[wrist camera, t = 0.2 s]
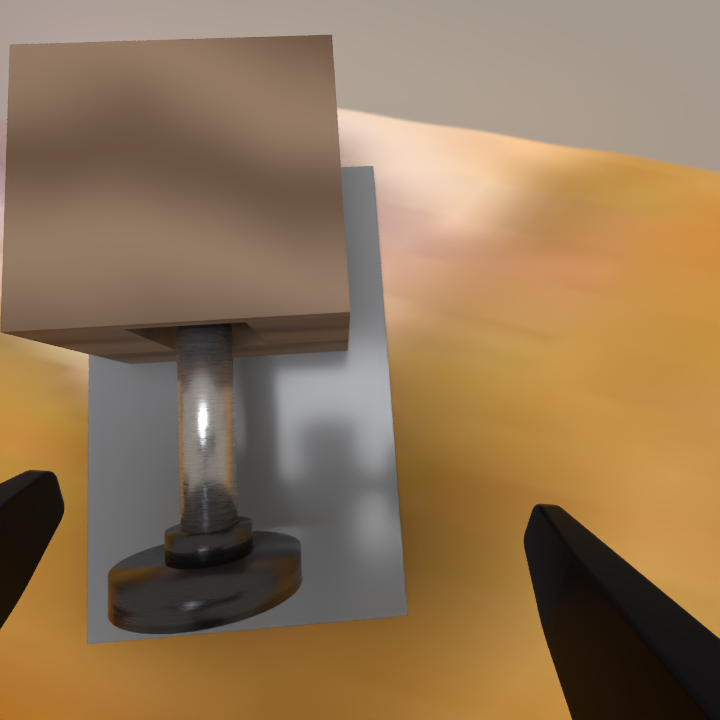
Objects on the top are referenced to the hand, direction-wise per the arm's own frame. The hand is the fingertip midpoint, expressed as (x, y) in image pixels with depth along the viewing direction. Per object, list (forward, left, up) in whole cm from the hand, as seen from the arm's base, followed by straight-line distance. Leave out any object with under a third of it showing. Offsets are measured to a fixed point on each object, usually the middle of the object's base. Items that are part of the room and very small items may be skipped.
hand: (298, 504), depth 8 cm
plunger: (+2, +3, -11) cm, 12 cm away
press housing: (+11, 0, -14) cm, 18 cm away
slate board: (+5, +3, -15) cm, 16 cm away
